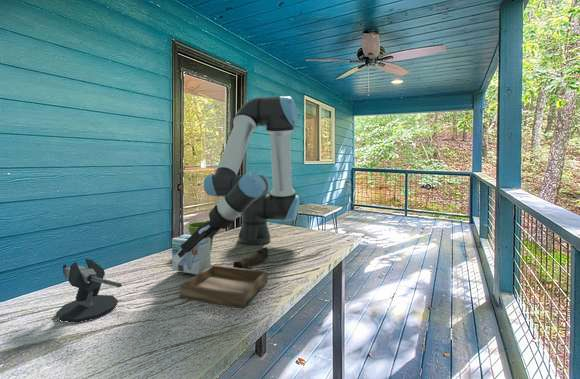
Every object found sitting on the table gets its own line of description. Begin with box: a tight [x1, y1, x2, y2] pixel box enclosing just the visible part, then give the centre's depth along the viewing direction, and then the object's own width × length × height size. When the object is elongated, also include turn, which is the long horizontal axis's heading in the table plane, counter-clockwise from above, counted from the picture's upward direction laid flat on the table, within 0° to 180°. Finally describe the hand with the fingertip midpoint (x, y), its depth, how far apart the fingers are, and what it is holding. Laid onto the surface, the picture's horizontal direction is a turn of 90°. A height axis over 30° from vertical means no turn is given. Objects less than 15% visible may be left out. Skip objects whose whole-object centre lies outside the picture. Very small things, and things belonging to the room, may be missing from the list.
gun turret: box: [55, 258, 123, 323], centre depth 72 cm, size 13×20×13 cm, turn 68°
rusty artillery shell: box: [232, 246, 269, 269], centre depth 107 cm, size 19×4×5 cm, turn 149°
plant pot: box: [186, 221, 214, 249], centre depth 121 cm, size 12×12×11 cm
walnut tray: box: [179, 264, 268, 309], centre depth 86 cm, size 17×19×4 cm
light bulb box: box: [171, 233, 212, 275], centre depth 97 cm, size 11×7×11 cm, turn 72°
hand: (182, 257), depth 99 cm, fingers closed on light bulb box, 7 cm apart
